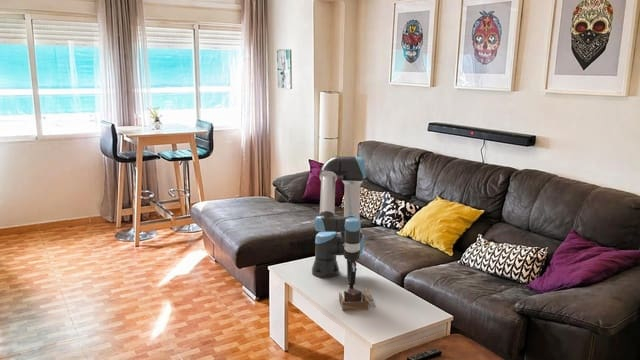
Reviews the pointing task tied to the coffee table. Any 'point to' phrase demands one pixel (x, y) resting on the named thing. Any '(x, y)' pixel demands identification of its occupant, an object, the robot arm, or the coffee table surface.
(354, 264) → the robot arm
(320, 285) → the coffee table surface
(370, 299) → the scraper
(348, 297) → the box
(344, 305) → the box
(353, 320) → the coffee table surface
